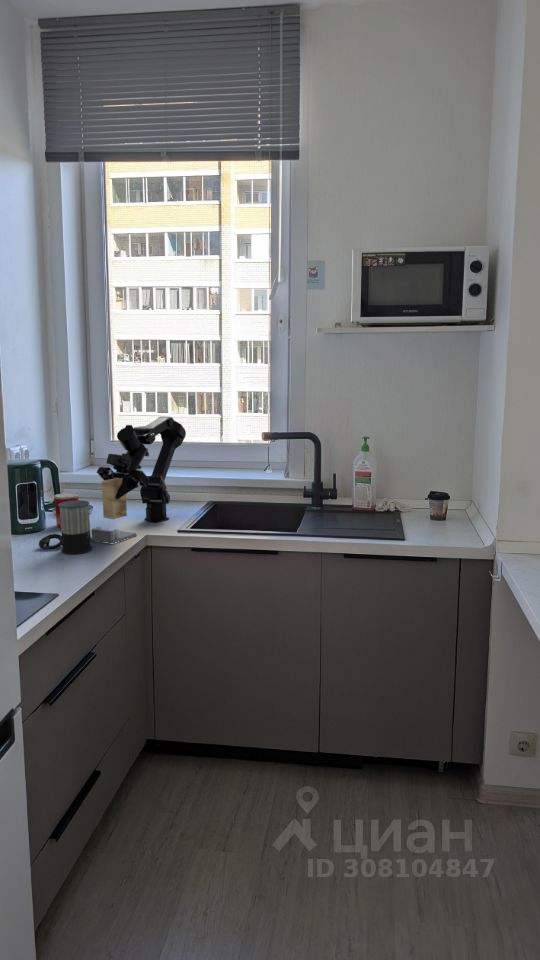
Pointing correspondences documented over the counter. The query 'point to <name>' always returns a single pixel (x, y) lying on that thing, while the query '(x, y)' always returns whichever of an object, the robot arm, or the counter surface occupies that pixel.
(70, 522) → the milk frother
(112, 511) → the oak block
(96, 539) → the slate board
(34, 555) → the counter surface
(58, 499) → the canned food
